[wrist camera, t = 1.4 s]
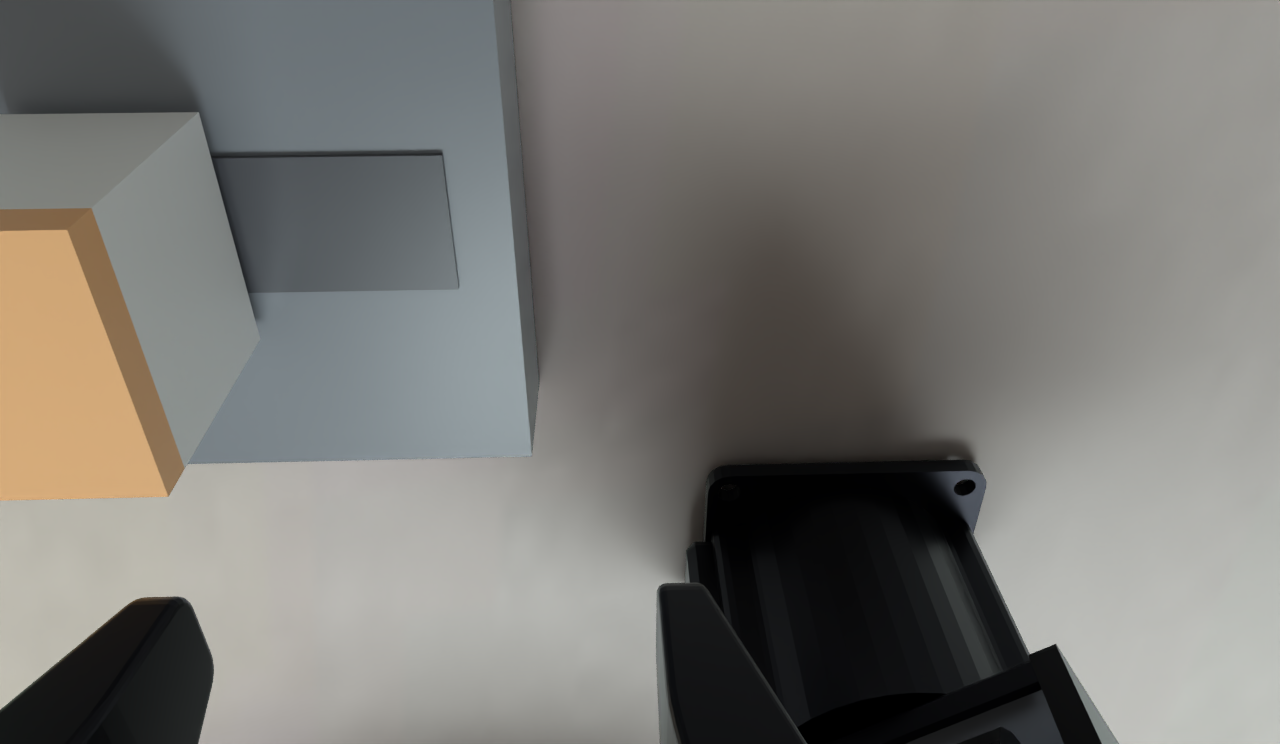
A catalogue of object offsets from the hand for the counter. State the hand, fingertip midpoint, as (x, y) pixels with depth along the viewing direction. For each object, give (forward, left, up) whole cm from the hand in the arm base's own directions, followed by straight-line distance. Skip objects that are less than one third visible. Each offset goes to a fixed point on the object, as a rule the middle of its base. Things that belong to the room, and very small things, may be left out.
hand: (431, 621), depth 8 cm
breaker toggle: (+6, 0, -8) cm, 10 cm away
